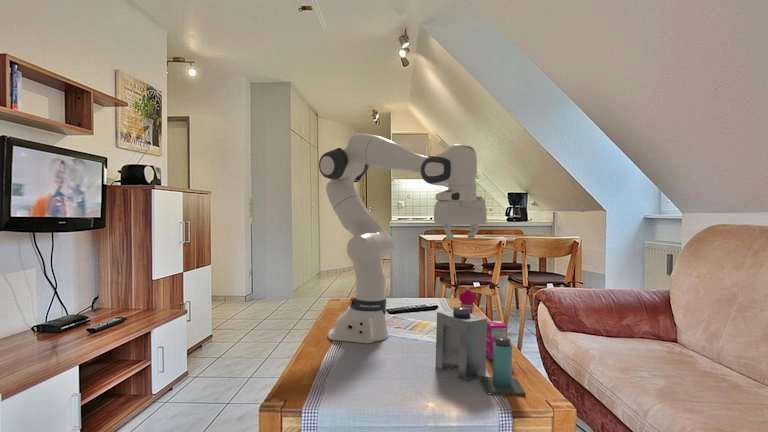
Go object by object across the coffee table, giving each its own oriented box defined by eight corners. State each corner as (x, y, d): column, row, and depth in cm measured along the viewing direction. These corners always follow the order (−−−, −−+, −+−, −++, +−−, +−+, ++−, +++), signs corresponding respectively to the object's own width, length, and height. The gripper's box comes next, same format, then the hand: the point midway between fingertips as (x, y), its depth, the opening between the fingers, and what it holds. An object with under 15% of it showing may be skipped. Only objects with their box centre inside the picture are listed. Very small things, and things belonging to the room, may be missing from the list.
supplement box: (483, 354, 147) (484, 320, 147) (500, 354, 148) (502, 320, 148) (489, 360, 142) (490, 325, 141) (507, 360, 142) (508, 325, 142)
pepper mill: (474, 337, 166) (476, 284, 166) (477, 343, 159) (478, 288, 158) (455, 336, 167) (457, 284, 166) (456, 342, 160) (458, 287, 159)
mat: (487, 394, 116) (487, 391, 116) (480, 379, 126) (480, 376, 126) (525, 395, 116) (525, 392, 116) (516, 380, 126) (516, 378, 126)
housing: (465, 381, 124) (467, 315, 123) (435, 367, 135) (437, 305, 134) (485, 376, 129) (487, 311, 128) (454, 362, 139) (456, 302, 139)
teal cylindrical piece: (494, 387, 118) (495, 341, 118) (490, 380, 123) (491, 336, 123) (513, 388, 118) (514, 342, 118) (508, 380, 123) (509, 336, 123)
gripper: (477, 196, 148) (476, 237, 149) (431, 194, 137) (430, 238, 137) (492, 196, 143) (490, 238, 143) (445, 194, 132) (443, 240, 132)
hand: (460, 238), depth 140 cm, fingers open, 8 cm apart
